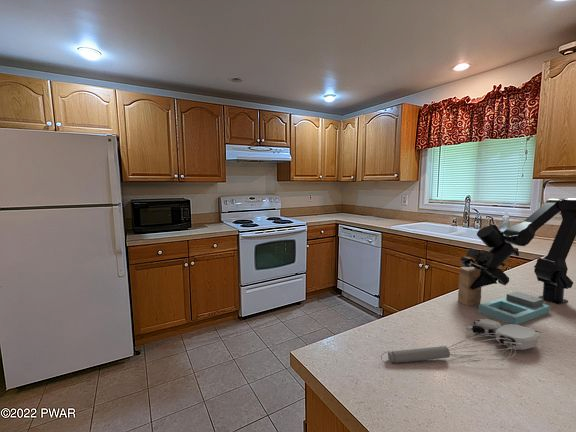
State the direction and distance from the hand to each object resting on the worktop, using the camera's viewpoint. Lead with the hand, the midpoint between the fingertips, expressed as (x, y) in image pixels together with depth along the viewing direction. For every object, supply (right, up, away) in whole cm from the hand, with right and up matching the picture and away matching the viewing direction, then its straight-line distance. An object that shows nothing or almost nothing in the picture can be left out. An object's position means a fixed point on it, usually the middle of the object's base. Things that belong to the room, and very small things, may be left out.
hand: (465, 285), depth 103 cm
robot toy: (-5, -10, -24) cm, 26 cm away
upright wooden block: (+1, -7, +1) cm, 7 cm away
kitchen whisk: (-25, -11, -33) cm, 43 cm away
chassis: (+12, -7, -7) cm, 16 cm away
